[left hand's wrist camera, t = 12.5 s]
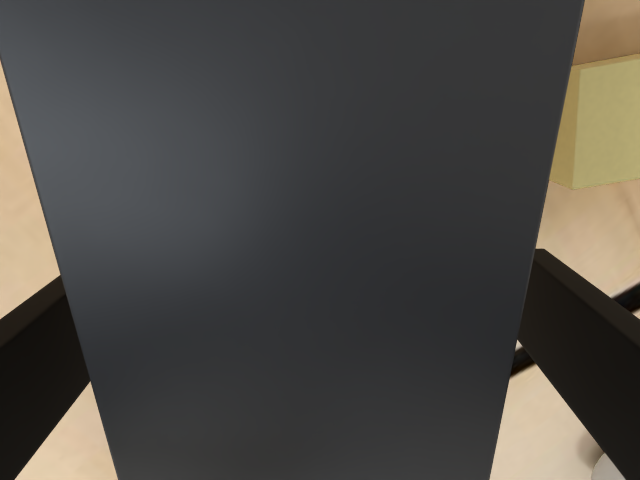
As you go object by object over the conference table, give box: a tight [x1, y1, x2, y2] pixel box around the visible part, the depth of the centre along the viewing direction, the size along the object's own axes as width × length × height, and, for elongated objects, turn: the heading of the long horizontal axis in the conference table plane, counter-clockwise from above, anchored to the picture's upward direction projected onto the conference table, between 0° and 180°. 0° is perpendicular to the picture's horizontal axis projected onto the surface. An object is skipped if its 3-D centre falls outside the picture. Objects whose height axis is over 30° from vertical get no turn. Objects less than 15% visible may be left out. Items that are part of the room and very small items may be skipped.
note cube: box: [549, 53, 640, 190], centre depth 25 cm, size 7×7×4 cm
